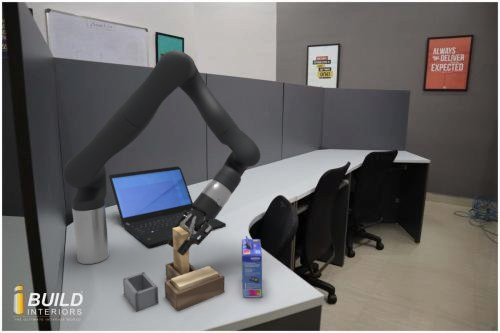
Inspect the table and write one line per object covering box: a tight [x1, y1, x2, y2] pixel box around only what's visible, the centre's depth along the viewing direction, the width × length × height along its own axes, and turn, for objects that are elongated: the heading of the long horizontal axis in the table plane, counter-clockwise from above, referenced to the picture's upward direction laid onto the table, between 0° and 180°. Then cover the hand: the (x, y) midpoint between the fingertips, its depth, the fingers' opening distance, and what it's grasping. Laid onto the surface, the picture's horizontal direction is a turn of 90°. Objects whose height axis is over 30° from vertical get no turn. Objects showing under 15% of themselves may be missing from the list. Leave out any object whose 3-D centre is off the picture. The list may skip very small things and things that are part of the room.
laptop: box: [108, 166, 227, 248], centre depth 137 cm, size 33×38×19 cm
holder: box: [122, 271, 159, 312], centre depth 86 cm, size 9×6×4 cm, turn 38°
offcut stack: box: [171, 265, 219, 292], centre depth 88 cm, size 5×12×5 cm, turn 128°
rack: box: [164, 261, 226, 312], centre depth 91 cm, size 16×14×4 cm
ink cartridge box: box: [241, 235, 264, 298], centre depth 91 cm, size 10×6×14 cm, turn 2°
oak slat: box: [172, 227, 190, 275], centre depth 92 cm, size 6×2×12 cm, turn 38°
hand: (174, 249), depth 91 cm, fingers closed on oak slat, 5 cm apart
